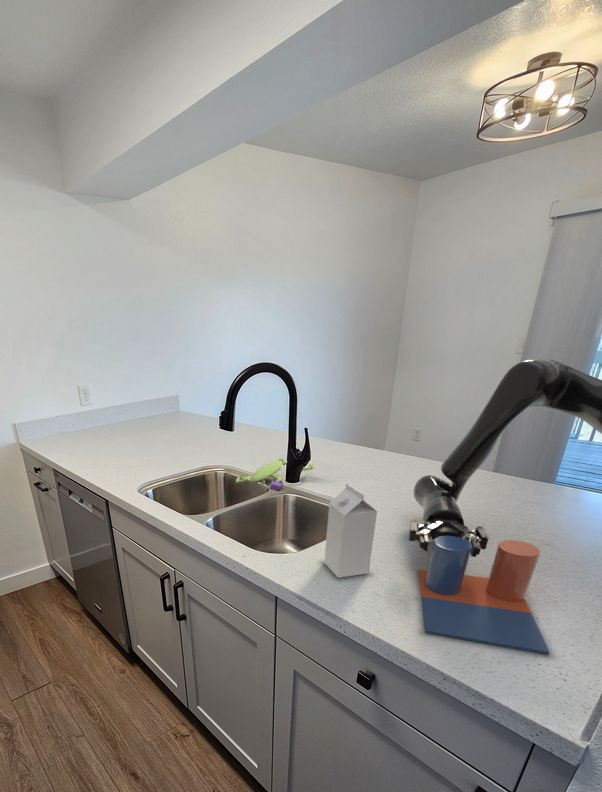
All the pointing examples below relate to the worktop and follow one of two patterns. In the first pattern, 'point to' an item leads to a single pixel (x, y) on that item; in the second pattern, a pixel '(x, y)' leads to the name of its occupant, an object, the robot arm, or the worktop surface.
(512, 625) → the sorting mat
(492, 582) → the terracotta crock
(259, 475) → the figurine
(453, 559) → the blue crock
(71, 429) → the worktop surface
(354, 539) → the milk carton
